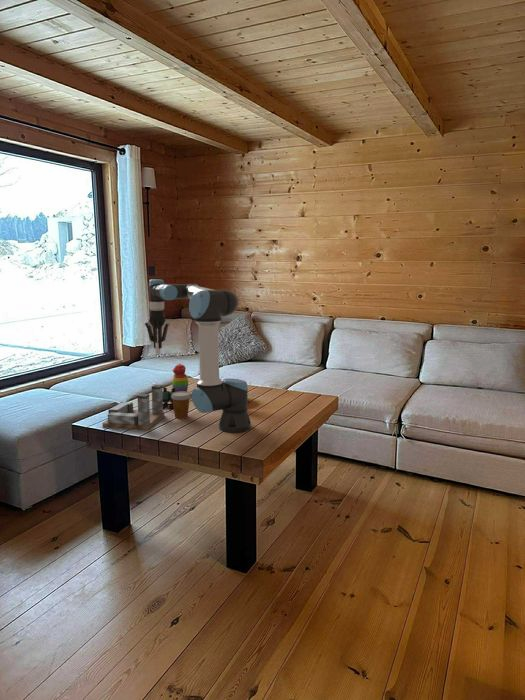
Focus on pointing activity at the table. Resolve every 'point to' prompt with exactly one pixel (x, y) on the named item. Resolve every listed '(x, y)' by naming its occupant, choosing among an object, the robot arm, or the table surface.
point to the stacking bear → (180, 378)
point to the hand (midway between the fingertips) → (158, 354)
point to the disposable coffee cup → (181, 404)
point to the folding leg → (120, 408)
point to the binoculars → (168, 398)
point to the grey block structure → (139, 412)
